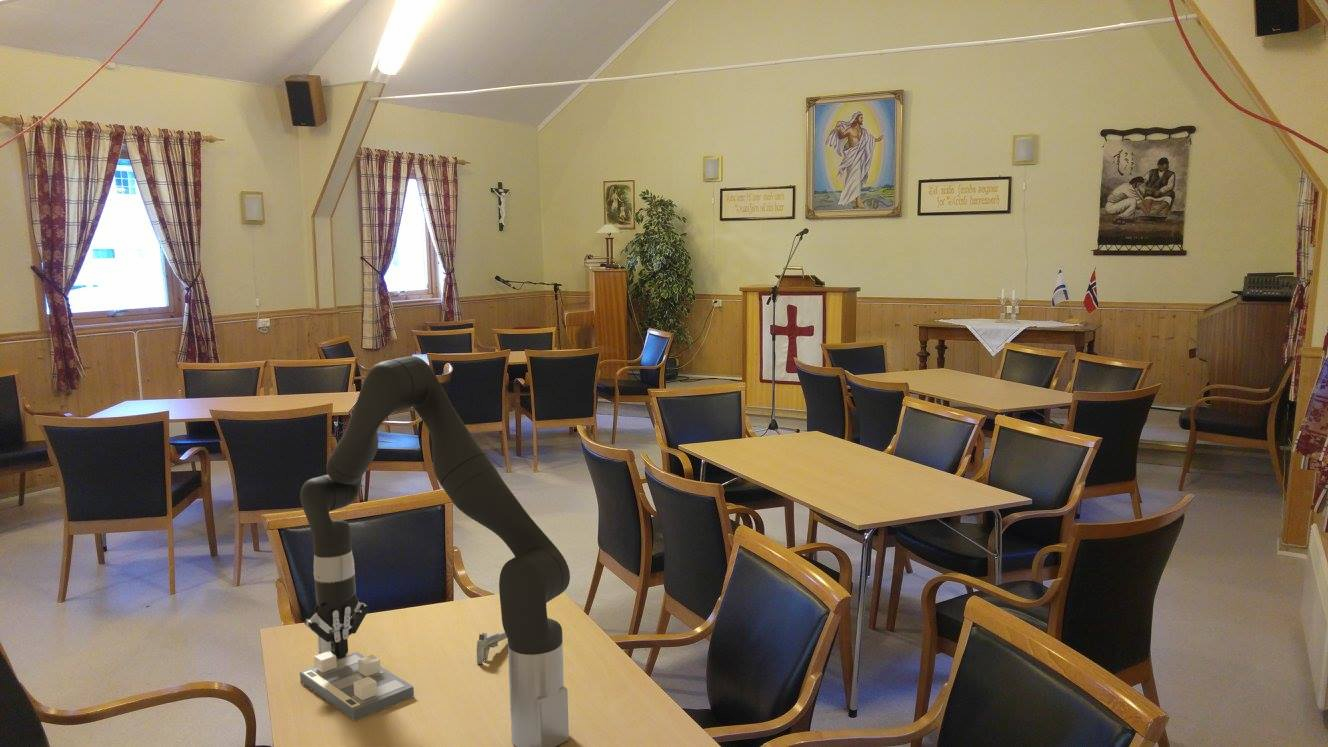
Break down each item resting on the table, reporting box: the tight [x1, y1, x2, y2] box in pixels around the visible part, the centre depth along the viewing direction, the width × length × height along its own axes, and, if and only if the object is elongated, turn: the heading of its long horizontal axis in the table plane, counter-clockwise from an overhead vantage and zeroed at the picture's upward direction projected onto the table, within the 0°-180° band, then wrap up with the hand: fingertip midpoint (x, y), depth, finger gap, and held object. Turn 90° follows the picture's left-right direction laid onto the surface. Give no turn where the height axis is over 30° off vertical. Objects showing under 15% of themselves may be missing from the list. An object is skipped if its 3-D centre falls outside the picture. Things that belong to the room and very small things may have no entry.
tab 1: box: [313, 651, 337, 673], centre depth 177 cm, size 3×3×2 cm
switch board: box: [299, 651, 415, 721], centre depth 173 cm, size 22×12×2 cm, turn 46°
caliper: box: [476, 630, 508, 665], centre depth 192 cm, size 20×1×6 cm, turn 161°
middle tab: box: [358, 654, 382, 677], centre depth 175 cm, size 3×3×2 cm
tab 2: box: [354, 677, 377, 700], centre depth 166 cm, size 3×3×2 cm
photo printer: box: [316, 618, 337, 659], centre depth 188 cm, size 10×4×12 cm, turn 17°
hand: (340, 656), depth 179 cm, fingers closed
